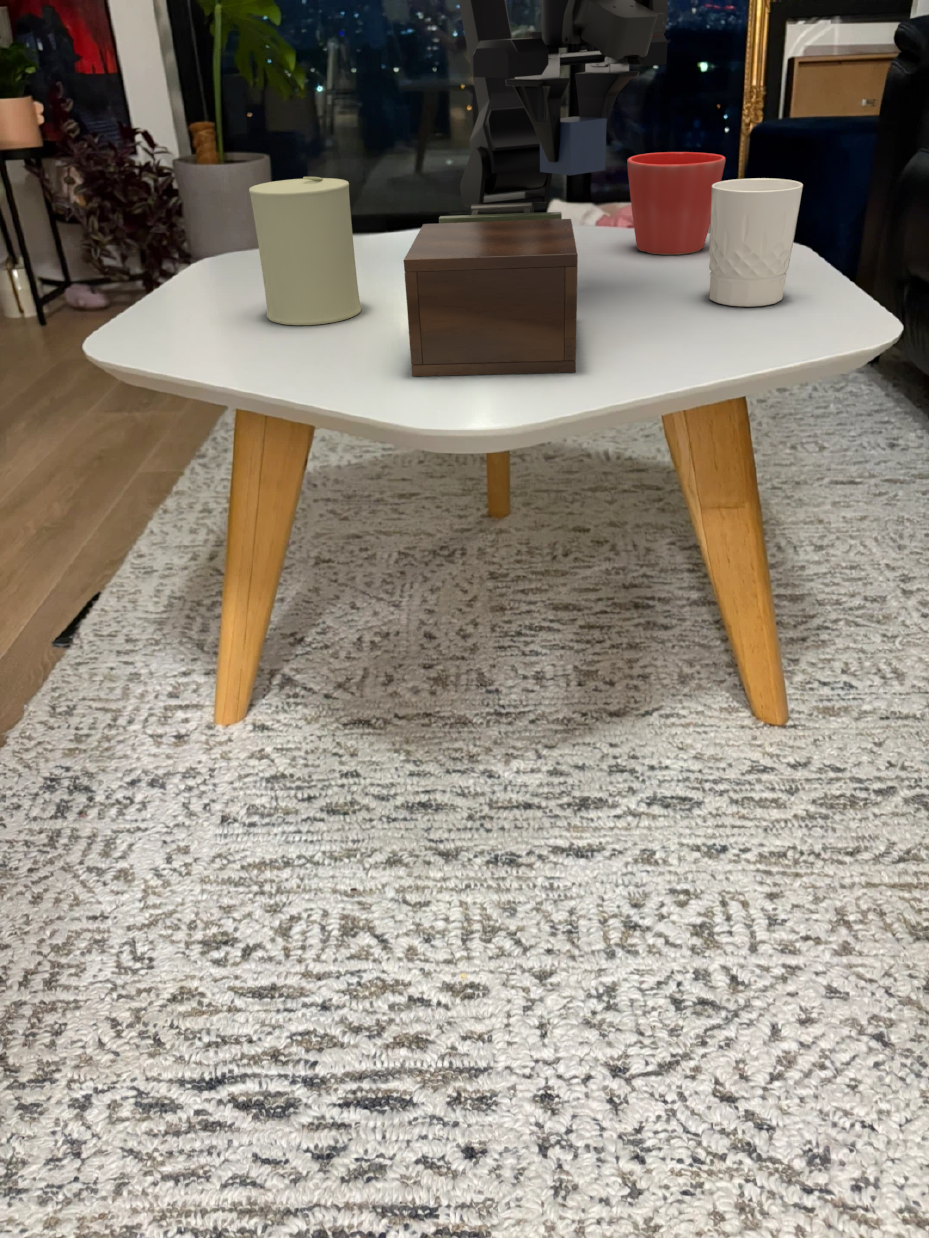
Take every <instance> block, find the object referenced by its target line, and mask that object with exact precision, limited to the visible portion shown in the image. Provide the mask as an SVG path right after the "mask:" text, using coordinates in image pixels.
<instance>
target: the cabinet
mask: <svg viewBox="0 0 929 1238" xmlns="http://www.w3.org/2000/svg"><path fill="white" fill-rule="evenodd" d="M576 243H577V242H576V237H575V232H574V227H573V222H572V218H562V219H549V220H522V221H494V222H467V223H439V222H438V223H423V224H422V226H421V228H420V229H419V231H418V233H417V235H416V236H415V238H414V240H413V242H412V244H411V246H410V248H409V250H408V252H407V253H406V255H405V257H404V258H403V270H404V282H405V296H406V299H405V300H406V311H407V324H408V326H407V327H408V337H409V339H408V340H409V351H410V352H409V353H410V364H411V365H410V367H411V376H412V377H436V376H437V377H438V376H439V377H440V376H473V375H476V376H477V375H478V376H479V375H514V374H515V375H517V374H555V373H557V374H559V373H576V372H577V328H578V327H577V325H578V322H577V321H578V316H577V315H578V311H577V310H578V263H579V261H578V259H579V256H578V249H577V244H576Z"/></svg>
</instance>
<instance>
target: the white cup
mask: <svg viewBox="0 0 929 1238" xmlns="http://www.w3.org/2000/svg"><path fill="white" fill-rule="evenodd" d="M803 188H804V184H803V183H802V182H801V181H797V180H792V179H785V178H772V177H771V178H769V177H767V178H766V177H761V178H760V177H757V178H756V177H755V178H736V179H734V178H733V179H728V180H721V182H717V183H714V184H713V185H712V192H711V219H710V226H709V247H708V248H709V249H708V254H709V262H708V263H709V264H708V268H709V271H710V273H709V275H710V276H709V277H710V278H709V300H711V301H712V302H713V303H716V304H719V305H724V306H730V307H746V308H747V307H764V306H770V305H773V304H774V305H775V304H778V303H779V302H780V301H782V300H783V297H784V290H785V286H786V278H787V271H788V269H789V267H790V262H791V257H792V252H793V251H792V250H793V246H794V241H795V235H796V230H797V223H798V217H799V212H800V205H801V201H802V193H803Z"/></svg>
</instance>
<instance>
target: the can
mask: <svg viewBox="0 0 929 1238" xmlns="http://www.w3.org/2000/svg"><path fill="white" fill-rule="evenodd" d="M248 192H249V196H250V199H251V200H250V201H251V206H252V213H253V219H254V225H255V232H256V239H257V246H258V252H259V258H260V266H261V272H262V279H263V286H264V295H265V304H266V318H267V319H268V320H269V321H271V322H273V323H276V324H278V325H279V324H280V325H287V326H317V325H325V324H332V323H337V322H340V321H345V320H348V319H351V318H353V317H355V316H358V315H359V314H360V313H361V312H362V304H361V300H360V293H359V286H358V277H357V266H356V256H355V245H354V236H353V235H354V234H353V224H352V212H351V199H350V183H349V181H348V180H345V179H342V178H341V179H340V178H329V177H320V176H303V177H302V178H293V179H282V180H275V181H268V182H263V183H258V184H256V185H253V186H250V187H249V189H248Z"/></svg>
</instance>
